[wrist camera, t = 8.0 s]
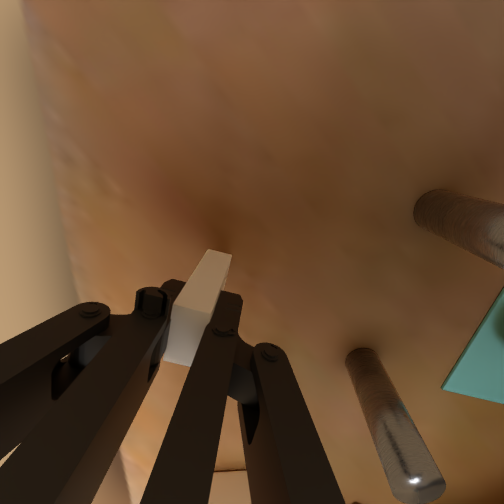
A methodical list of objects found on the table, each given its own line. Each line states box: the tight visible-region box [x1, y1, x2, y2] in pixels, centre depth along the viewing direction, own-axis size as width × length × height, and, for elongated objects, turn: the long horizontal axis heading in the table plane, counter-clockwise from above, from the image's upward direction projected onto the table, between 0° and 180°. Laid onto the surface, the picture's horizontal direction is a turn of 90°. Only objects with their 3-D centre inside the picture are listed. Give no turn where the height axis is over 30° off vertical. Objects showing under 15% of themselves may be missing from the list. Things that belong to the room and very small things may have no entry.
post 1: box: [345, 348, 446, 504], centre depth 18 cm, size 3×3×9 cm
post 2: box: [414, 190, 504, 269], centre depth 14 cm, size 3×3×9 cm
